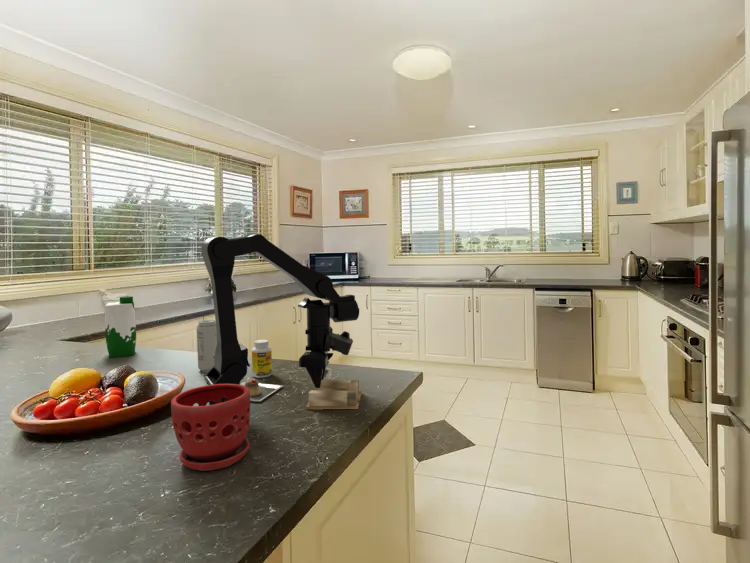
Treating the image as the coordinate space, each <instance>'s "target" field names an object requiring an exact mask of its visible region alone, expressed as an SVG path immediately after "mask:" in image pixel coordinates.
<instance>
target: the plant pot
mask: <svg viewBox="0 0 750 563" xmlns="http://www.w3.org/2000/svg"><path fill="white" fill-rule="evenodd" d="M223 397H225V398H227V401H226V402H223V403H222V402H221V398H223ZM250 400H251V396H250V391H249V389H248V388H247V387H245V386H243V385H239V384H214V385H208V384H207V385H202V386H198V387H193V388H191V389H187V390H185V391H183V392H181V393H178V394H177V395H175V396H174V397H173V398H172V399H171V401H170V410H171V411H170V412H171V413H170V414H171V420H172V427H173V431H174V434H175V437H176V438H175V439H176V441H177V442H178V445H179V446H180V448H181V449H182V450H181V452H180V453H179V461H180V462H181V463H182V464H183V465H184V466H185V467H187V468H189V469H192V470H194V471H213V470H214V471H215V470H220V469H223V468H227V467H229V466H231V465H233V464H235V463H237V462H239V461H240V460H241V459H242V458H243V457H244V456H246V454H247V452H248V450H249V448H250V441H249V439H248V438H246V436H247V434H248V431H249V427H250V421H251V401H250ZM211 401H213V402H215V403H216V404H214V405H209V402H211ZM195 404H197V405H198V406H197V405H196V406H194V405H195ZM207 404H208V405H207Z"/></svg>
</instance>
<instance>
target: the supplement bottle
mask: <svg viewBox="0 0 750 563" xmlns="http://www.w3.org/2000/svg"><path fill="white" fill-rule="evenodd" d="M253 342H254V347H252V348H251V374H252V375H251V376H252V377H253V378H255V379H256V378H259V379H261V378H269V377H270V376H271V375H272V374H273V363H272V362H273V361H272V360H273V359H272V358H273V357H272V355H273V354H272V347H271V346H269V345H270V344H269V340H268V339H257V340H254V341H253Z"/></svg>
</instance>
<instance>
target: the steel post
mask: <svg viewBox="0 0 750 563" xmlns="http://www.w3.org/2000/svg"><path fill="white" fill-rule="evenodd" d="M332 370H333V369H332V368H331V367H328V366H326V370H325V375H324V379H323V380H333V377H332V376H333V375H332V374H333V373H332Z"/></svg>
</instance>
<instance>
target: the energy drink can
mask: <svg viewBox="0 0 750 563" xmlns="http://www.w3.org/2000/svg"><path fill="white" fill-rule="evenodd" d="M217 341H218V338H217V329H216V320H215V319H204V320H199V321H198V324H197V326H196V344H197V345H196V348H197V367H198V370H200V371H199V372H201V371H202V372H201V373H208V372H209V371H210V370H211V369H212V368H213V366H214V360H215V351H216V346H217Z"/></svg>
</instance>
